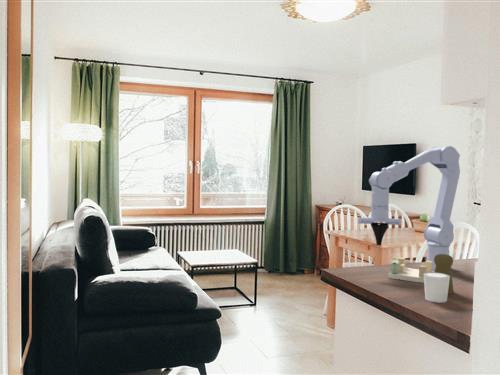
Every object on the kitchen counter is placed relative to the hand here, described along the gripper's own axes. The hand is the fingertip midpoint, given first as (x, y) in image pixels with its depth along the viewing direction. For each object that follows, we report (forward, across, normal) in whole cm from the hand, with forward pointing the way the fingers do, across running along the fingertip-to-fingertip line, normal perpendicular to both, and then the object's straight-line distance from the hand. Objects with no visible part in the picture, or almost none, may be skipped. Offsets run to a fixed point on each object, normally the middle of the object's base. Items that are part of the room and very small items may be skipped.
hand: (378, 244), depth 159 cm
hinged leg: (+8, +5, -4) cm, 10 cm away
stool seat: (+10, +10, -5) cm, 15 cm away
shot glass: (+10, +12, -31) cm, 35 cm away
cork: (+10, +16, -22) cm, 29 cm away
